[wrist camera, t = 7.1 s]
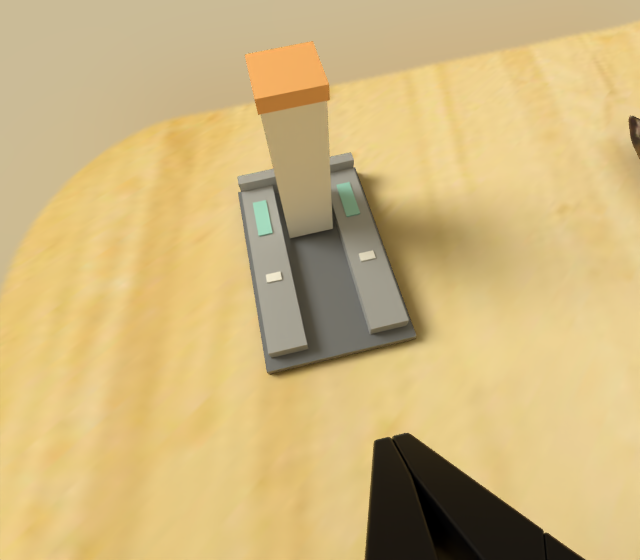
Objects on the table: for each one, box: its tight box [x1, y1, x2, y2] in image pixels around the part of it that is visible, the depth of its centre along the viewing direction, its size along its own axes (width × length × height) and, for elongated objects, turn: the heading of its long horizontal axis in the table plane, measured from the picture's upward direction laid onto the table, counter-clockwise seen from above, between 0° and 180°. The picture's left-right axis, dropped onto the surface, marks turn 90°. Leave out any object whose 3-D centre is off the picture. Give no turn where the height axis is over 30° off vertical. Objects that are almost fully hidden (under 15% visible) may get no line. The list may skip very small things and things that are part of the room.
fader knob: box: [245, 41, 333, 238], centre depth 22 cm, size 3×3×11 cm
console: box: [238, 152, 416, 374], centre depth 25 cm, size 15×10×2 cm, turn 14°
